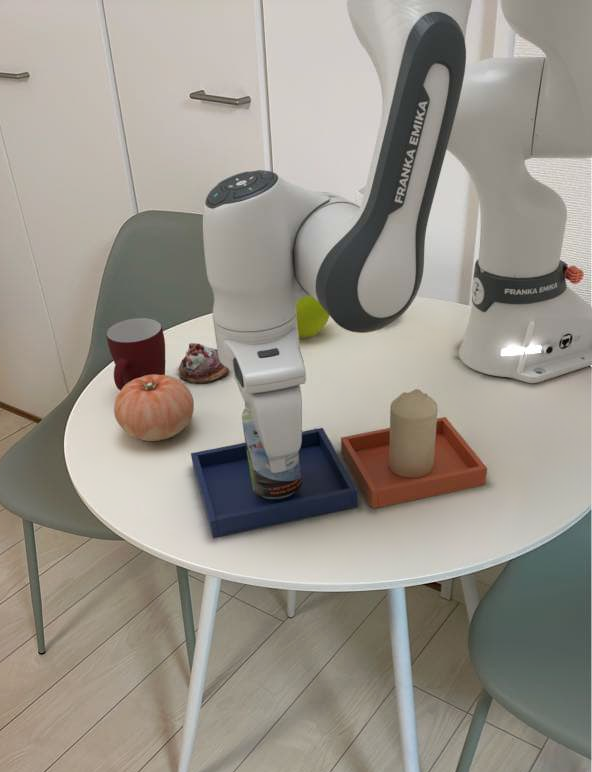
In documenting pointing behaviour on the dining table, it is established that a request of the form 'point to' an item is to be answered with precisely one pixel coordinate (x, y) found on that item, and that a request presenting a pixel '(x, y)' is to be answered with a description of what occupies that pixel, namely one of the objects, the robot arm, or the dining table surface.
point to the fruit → (310, 317)
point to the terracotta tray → (384, 487)
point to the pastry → (201, 364)
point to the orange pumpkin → (154, 407)
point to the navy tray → (251, 511)
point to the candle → (412, 434)
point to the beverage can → (259, 469)
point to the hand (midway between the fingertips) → (267, 447)
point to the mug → (136, 349)
